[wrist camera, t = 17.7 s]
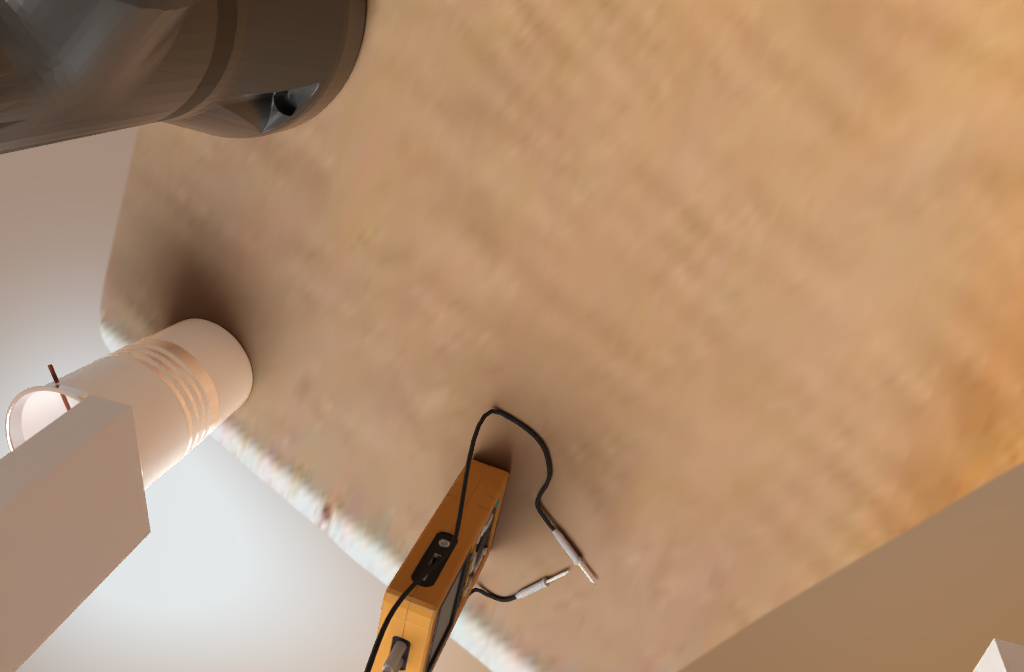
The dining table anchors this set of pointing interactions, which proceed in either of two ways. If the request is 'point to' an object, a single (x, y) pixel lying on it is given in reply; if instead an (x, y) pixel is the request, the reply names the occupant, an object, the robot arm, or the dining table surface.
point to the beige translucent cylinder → (151, 391)
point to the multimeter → (449, 567)
